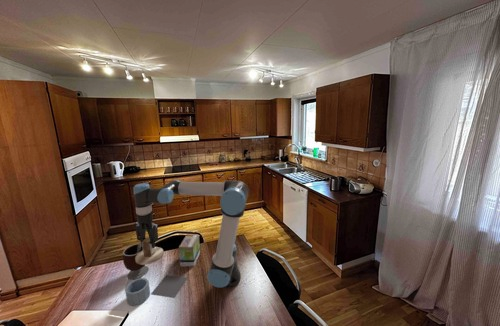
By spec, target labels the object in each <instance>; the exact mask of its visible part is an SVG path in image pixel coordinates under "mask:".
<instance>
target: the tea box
mask: <svg viewBox="0 0 500 326" xmlns="http://www.w3.org/2000/svg"><path fill="white" fill-rule="evenodd" d="M200 245H201V244H200V235H199V234H198V235H197V234H196V235H195V234H194V235H185V237H184V238H183V240H182V241H181V243H180V244H179V246H178V252H179V265H180V267H195V266H196V264H197V261H198V258H199V256H200V254H201V248H200V247H201V246H200Z"/></svg>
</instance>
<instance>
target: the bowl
mask: <svg viewBox="0 0 500 326" xmlns="http://www.w3.org/2000/svg"><path fill="white" fill-rule="evenodd" d="M124 292H125V298H126V302H127V304H128V305H129V307H137V306H140V305H142V304H144V303H145V302H146V301H147V300H148V299H149V298H150V295H151V287H150V282H149V280H148V278H145V277H142V278H140V279H136V280H131V281H130V282H129V283H128V285H126V287H125V290H124Z"/></svg>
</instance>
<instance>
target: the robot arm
mask: <svg viewBox="0 0 500 326" xmlns="http://www.w3.org/2000/svg"><path fill="white" fill-rule="evenodd" d="M132 189H133V198H134V203H135V205H134V206H135V215H136V222H134V223H133V226H134V228H135V234H136V240H137V241H139V242H140V241H141V246H142V247H143V245H142V241H143V240H145V239H146V238H147V237H146V234H147V235H148V238H149V239H150V243H149V244H150V252H151V254H153V253H154V252H155V247H157V246H156V242H157V241H158V240H159V233H158V232H159V231H158V230H159V229H158V227H159V224H158V223H155V222H154V221H153V218H154V216H153V206H152V204H161V205H163V204H170V203H171V202H173V199H174V196H216V197H218V196H219V197H220V201H219V202H220V203H219V204H220V213H221V214H222V218H221V224H220V229H219V235H218V240H217V246H216V252H215V253H214V254H213V255H212V258H211V263H210V267H209V270H208V272H207V276H206V279H207V281H208V283H210V285H212V286H213V287H215V288H219V289H220V288H223V289H231V288H234V287H235V286H236V287H237V285H238V284H240V281H241V280H242V276H241V275H242V273H241V271H240V269H239V266H238V257H237V256H238V254H237V253H238V252H237V251H238V249H237V244H236V243H235V242H236V239H237V233H238V228H239V223H240V219H241V218H242V217H244V214H245V208H246V205H247V201H248V198H249V195H250V189H249V187H248V185H247V184H246V183H245V182H243V181H241V180H237V179H236V180H233V179H232V180H231V179H229V180H227V179H226V180H224V181H222V182H220V181H219V182H218V181H181V180H179V179H173V180H170V181H169V182H167V183H166V184H163V186H160V187H157V188H154V187H153V188H151V187H150V184H149V183H147V182H146V183H144V182H143V183H137V184H135V185H134V186H133V188H132ZM146 232H147V233H146ZM143 253H144V252H143Z"/></svg>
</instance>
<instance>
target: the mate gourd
mask: <svg viewBox="0 0 500 326" xmlns="http://www.w3.org/2000/svg"><path fill="white" fill-rule="evenodd" d="M141 251H143V247H142V246H141V241H140V240H139V242H138V243H135V244H131V245H129V246H128V247H126V248H125V249H124V250H123V252H122V263H123V265H124V267H125V269H127V270H128V273H127V279H128V280H130V281H134V280H136V279H140V278H144V277H145V276H146V275H147V273H148V272H149V271H150V270H149V269H150V268H149V267H148V266H147V265H140V264H138V263H136V260H135V257H136V255H137V254H138V253H139V252H141Z"/></svg>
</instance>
